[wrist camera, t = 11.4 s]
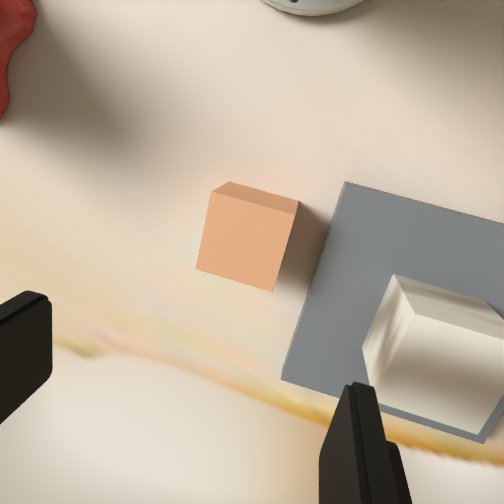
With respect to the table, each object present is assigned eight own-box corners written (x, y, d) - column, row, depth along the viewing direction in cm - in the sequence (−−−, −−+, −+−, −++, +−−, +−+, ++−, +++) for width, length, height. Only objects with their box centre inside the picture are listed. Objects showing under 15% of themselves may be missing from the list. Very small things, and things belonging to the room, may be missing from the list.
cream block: (393, 273, 26) (414, 313, 20) (484, 300, 25) (532, 348, 19) (361, 347, 28) (373, 401, 22) (444, 372, 27) (477, 434, 22)
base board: (344, 181, 26) (346, 183, 24) (588, 246, 24) (605, 253, 23) (282, 368, 31) (280, 379, 30) (475, 429, 30) (483, 444, 29)
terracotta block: (229, 181, 27) (211, 191, 22) (299, 200, 27) (295, 215, 22) (215, 247, 29) (195, 269, 24) (279, 266, 29) (272, 292, 24)
